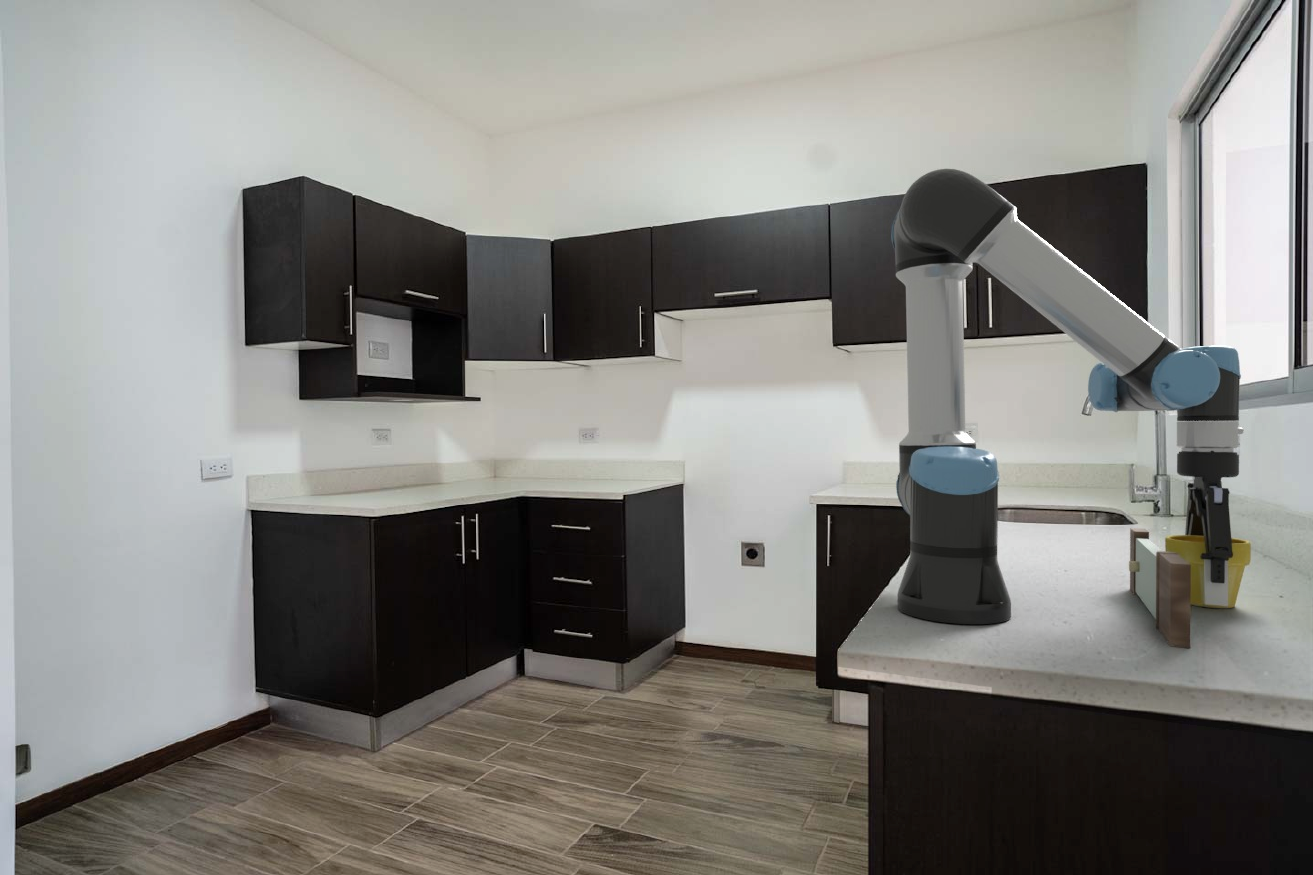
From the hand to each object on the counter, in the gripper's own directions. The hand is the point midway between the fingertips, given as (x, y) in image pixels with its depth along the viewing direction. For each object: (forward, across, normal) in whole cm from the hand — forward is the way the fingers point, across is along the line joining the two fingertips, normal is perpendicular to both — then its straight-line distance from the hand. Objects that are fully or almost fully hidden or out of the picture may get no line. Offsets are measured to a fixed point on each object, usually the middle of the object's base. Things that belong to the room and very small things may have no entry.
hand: (1206, 596), depth 114 cm
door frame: (+1, -11, +8) cm, 14 cm away
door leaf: (0, -8, +9) cm, 12 cm away
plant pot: (+1, 0, 0) cm, 1 cm away
